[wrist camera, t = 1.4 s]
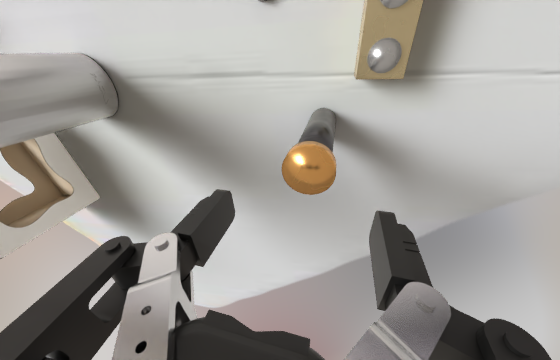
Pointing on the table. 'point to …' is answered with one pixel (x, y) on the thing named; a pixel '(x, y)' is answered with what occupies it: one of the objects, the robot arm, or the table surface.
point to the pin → (312, 156)
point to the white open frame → (42, 191)
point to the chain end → (386, 38)
